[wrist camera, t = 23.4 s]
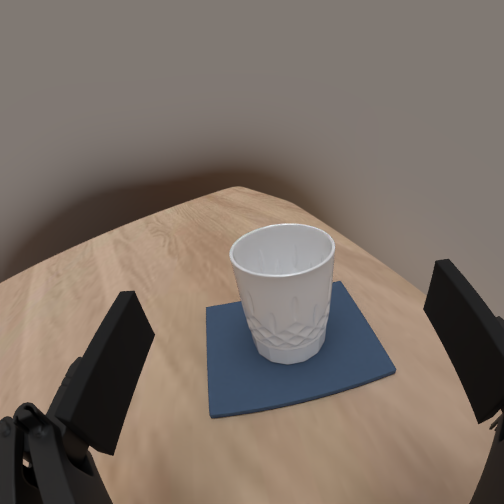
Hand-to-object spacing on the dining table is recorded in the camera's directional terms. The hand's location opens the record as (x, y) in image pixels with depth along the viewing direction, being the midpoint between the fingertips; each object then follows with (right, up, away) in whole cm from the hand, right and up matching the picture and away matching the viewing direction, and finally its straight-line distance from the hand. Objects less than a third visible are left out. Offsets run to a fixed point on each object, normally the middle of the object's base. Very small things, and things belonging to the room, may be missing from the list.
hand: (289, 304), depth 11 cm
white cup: (+2, -6, +15) cm, 16 cm away
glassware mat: (+2, -7, +15) cm, 16 cm away
